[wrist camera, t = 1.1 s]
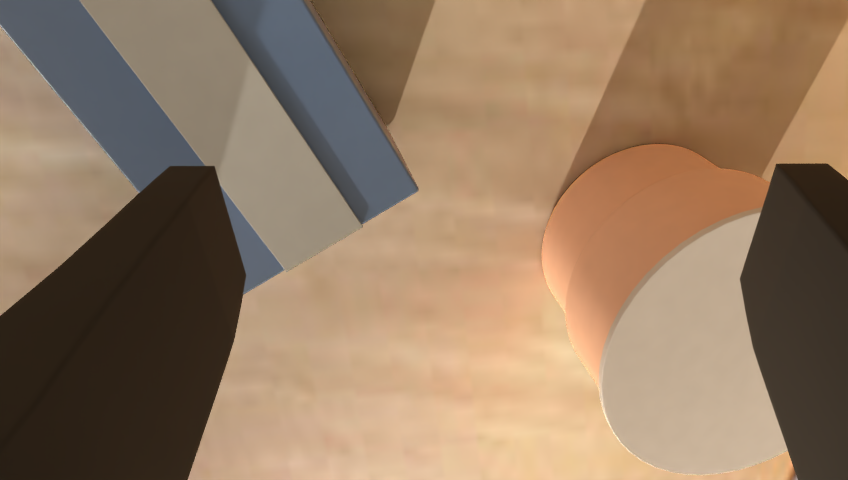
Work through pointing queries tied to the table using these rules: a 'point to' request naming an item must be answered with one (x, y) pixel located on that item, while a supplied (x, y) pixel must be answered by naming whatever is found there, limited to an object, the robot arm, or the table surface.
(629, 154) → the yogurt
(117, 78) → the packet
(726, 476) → the table surface
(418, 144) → the table surface
